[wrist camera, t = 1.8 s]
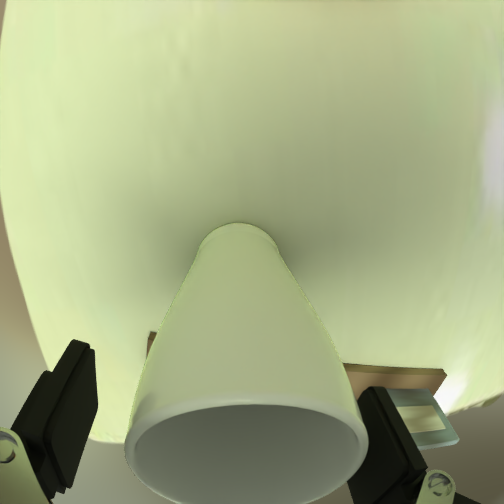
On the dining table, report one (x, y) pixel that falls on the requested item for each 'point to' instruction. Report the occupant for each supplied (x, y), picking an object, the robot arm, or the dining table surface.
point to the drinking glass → (243, 387)
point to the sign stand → (404, 398)
